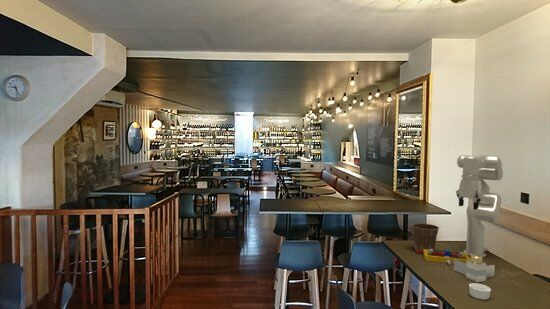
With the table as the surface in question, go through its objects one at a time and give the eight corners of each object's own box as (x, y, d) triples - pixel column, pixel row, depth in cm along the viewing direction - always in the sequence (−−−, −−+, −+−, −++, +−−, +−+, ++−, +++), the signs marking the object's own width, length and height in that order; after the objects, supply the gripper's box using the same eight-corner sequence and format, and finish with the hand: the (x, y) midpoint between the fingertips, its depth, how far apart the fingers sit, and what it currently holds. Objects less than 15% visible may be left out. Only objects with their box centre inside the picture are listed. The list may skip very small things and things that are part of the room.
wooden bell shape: (474, 274, 189) (475, 254, 188) (483, 278, 184) (484, 257, 183) (467, 276, 187) (468, 255, 186) (476, 279, 182) (477, 258, 182)
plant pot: (405, 247, 237) (406, 223, 236) (424, 245, 242) (425, 222, 241) (423, 255, 221) (424, 230, 221) (443, 253, 227) (444, 228, 226)
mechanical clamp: (416, 243, 227) (468, 249, 218) (415, 253, 227) (468, 259, 219) (418, 252, 210) (476, 258, 201) (418, 262, 210) (475, 269, 201)
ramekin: (482, 292, 170) (483, 283, 170) (494, 300, 161) (495, 291, 161) (464, 291, 170) (464, 282, 170) (475, 300, 161) (476, 291, 161)
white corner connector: (471, 267, 203) (472, 251, 202) (499, 278, 187) (500, 261, 187) (449, 270, 197) (450, 254, 196) (476, 282, 181) (477, 264, 181)
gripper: (452, 176, 212) (450, 205, 212) (478, 179, 195) (476, 211, 196) (461, 176, 214) (460, 204, 215) (488, 179, 198) (486, 210, 199)
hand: (468, 207), depth 206 cm, fingers open, 9 cm apart
